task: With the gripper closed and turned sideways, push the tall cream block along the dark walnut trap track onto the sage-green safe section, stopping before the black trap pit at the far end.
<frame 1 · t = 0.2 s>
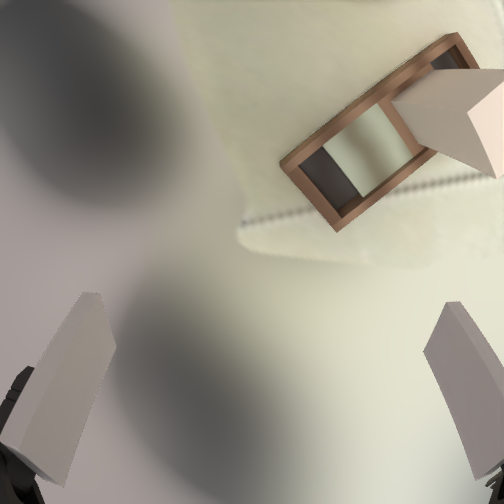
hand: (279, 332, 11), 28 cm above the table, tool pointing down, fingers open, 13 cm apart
block: (425, 106, 29), point 2 cm above the table, touching trap track
trap track: (395, 122, 32), on the table
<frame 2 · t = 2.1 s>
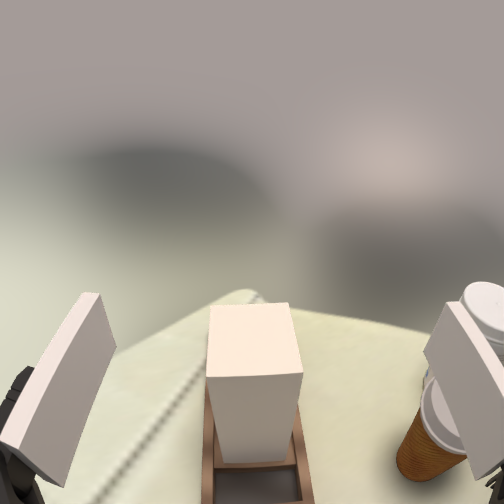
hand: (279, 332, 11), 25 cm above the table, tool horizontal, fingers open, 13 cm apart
block: (252, 433, 29), point 2 cm above the table, touching trap track
disposable coffee cup: (420, 458, 26), on the table
trap track: (251, 412, 33), on the table
supplement tub: (450, 389, 33), on the table
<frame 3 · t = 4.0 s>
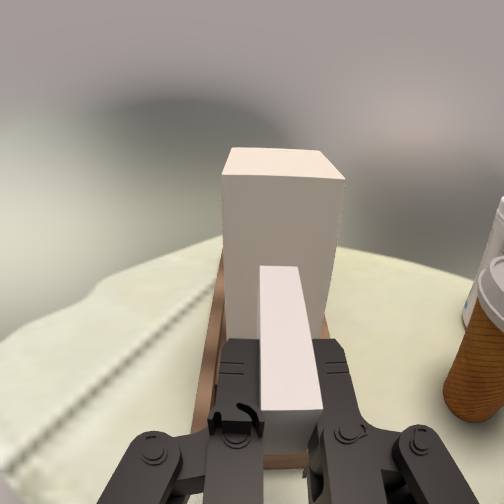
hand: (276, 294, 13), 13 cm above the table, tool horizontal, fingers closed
block: (268, 347, 25), point 2 cm above the table, touching trap track
disposable coffee cup: (469, 396, 21), on the table
trap track: (266, 331, 30), on the table
supplement tub: (491, 328, 28), on the table
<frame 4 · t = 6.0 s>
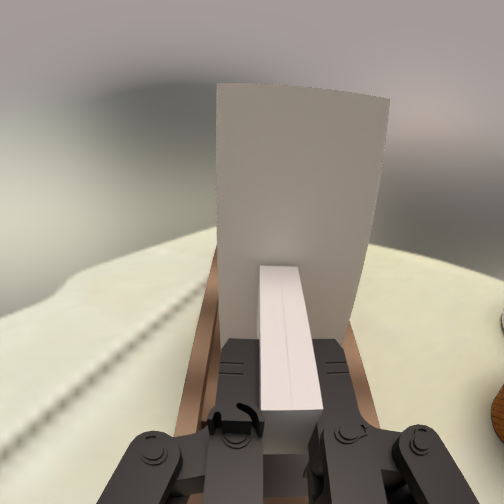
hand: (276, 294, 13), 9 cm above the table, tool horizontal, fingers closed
block: (274, 345, 20), point 2 cm above the table
trap track: (272, 344, 23), on the table
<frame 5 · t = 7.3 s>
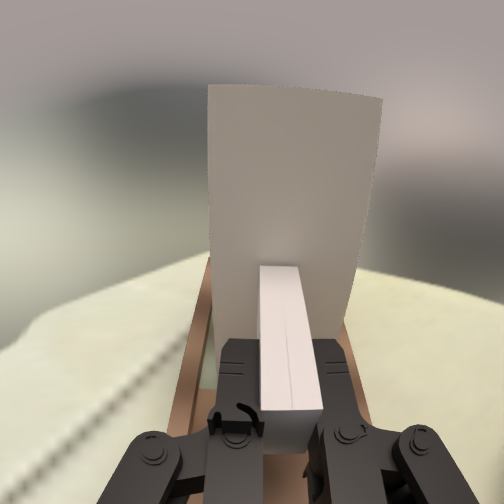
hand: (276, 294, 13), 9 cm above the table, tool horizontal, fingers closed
block: (269, 345, 20), point 2 cm above the table
trap track: (267, 423, 17), on the table
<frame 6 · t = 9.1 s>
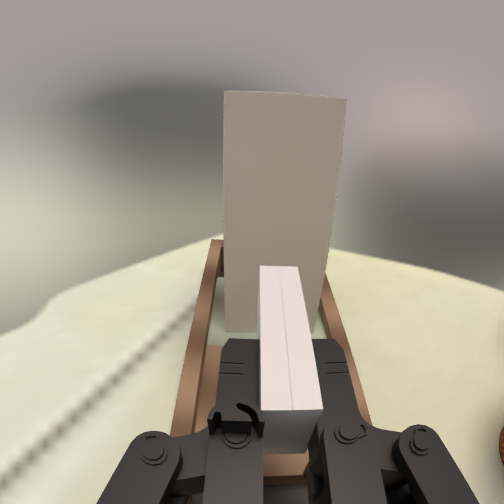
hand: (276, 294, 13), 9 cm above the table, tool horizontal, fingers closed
block: (267, 301, 24), point 2 cm above the table, touching trap track
trap track: (267, 377, 20), on the table
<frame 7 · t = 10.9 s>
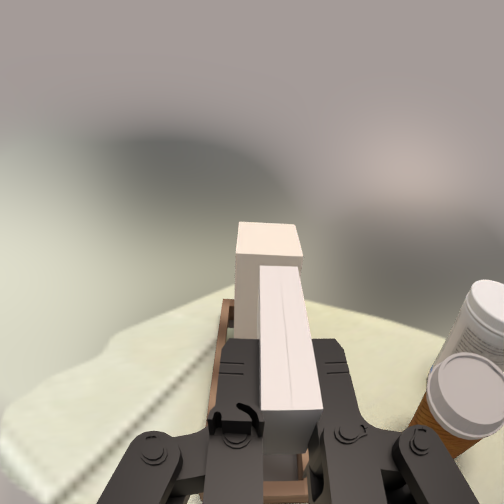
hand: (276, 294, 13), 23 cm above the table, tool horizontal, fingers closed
block: (258, 346, 38), point 2 cm above the table, touching trap track
disposable coffee cup: (421, 451, 26), on the table
trap track: (256, 392, 34), on the table
supplement tub: (453, 388, 33), on the table
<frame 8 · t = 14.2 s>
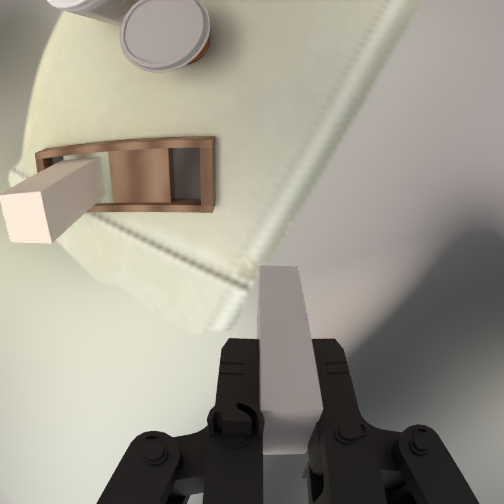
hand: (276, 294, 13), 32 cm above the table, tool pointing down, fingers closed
block: (82, 177, 41), point 2 cm above the table, touching trap track
disposable coffee cup: (185, 43, 34), on the table
trap track: (121, 173, 43), on the table
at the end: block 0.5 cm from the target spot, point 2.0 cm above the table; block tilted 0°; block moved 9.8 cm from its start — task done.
